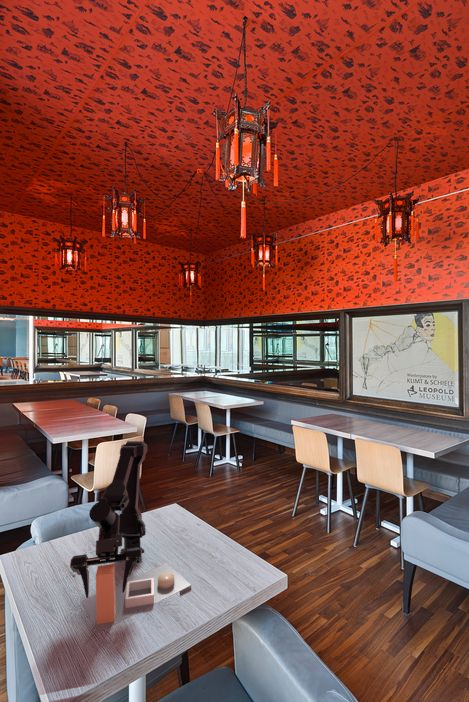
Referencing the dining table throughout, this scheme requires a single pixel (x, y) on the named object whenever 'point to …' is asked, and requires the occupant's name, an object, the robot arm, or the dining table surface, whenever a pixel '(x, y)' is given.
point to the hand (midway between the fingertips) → (105, 594)
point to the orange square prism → (105, 593)
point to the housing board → (140, 594)
